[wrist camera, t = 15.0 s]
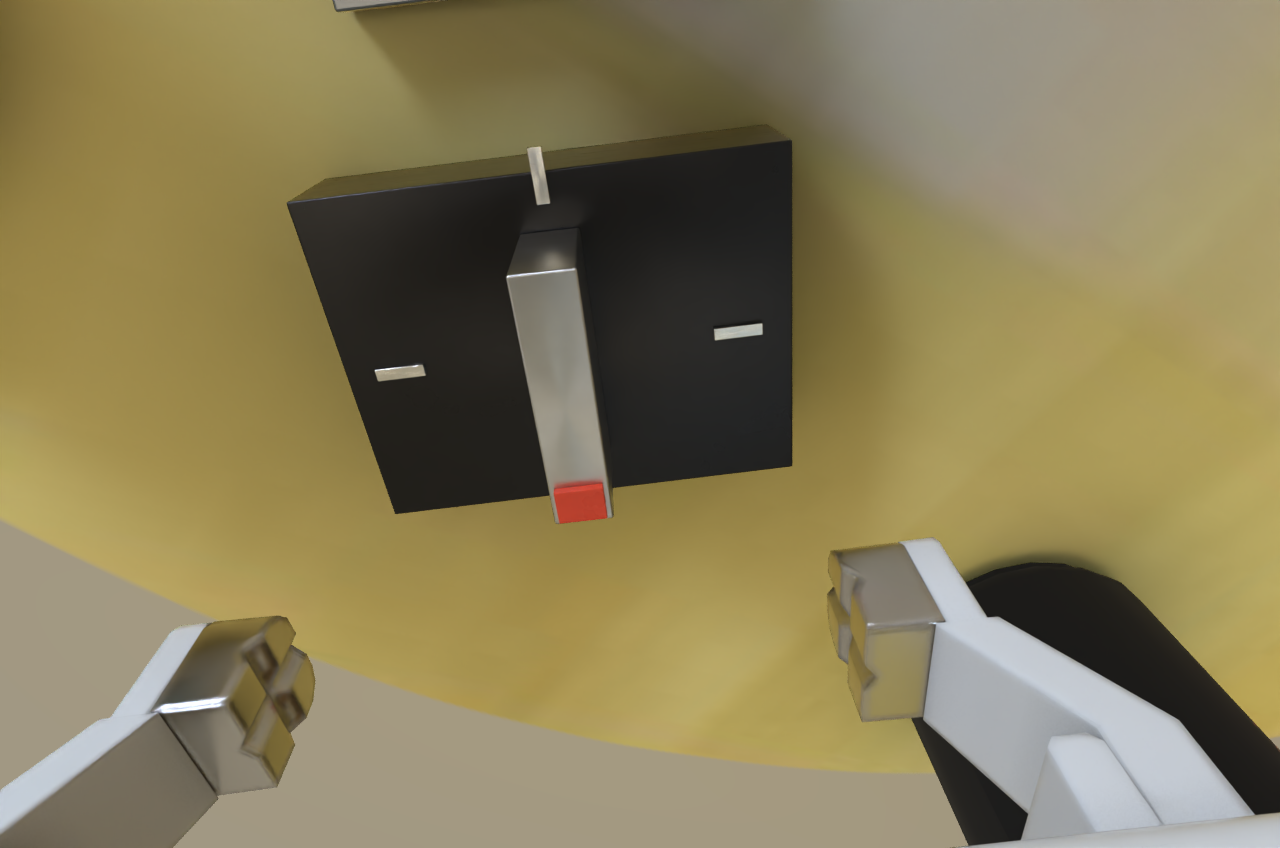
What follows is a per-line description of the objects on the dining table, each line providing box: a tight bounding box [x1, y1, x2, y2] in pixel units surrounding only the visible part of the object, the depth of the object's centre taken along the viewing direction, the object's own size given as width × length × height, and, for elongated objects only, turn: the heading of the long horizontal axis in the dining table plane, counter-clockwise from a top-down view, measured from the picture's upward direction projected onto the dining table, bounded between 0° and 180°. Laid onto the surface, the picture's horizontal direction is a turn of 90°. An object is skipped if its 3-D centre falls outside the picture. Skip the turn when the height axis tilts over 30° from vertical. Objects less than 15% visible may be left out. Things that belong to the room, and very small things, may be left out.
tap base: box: [287, 124, 792, 514], centre depth 22 cm, size 13×11×3 cm
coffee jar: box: [911, 563, 1280, 846], centre depth 24 cm, size 11×11×18 cm
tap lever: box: [506, 228, 614, 524], centre depth 19 cm, size 7×2×4 cm, turn 6°
